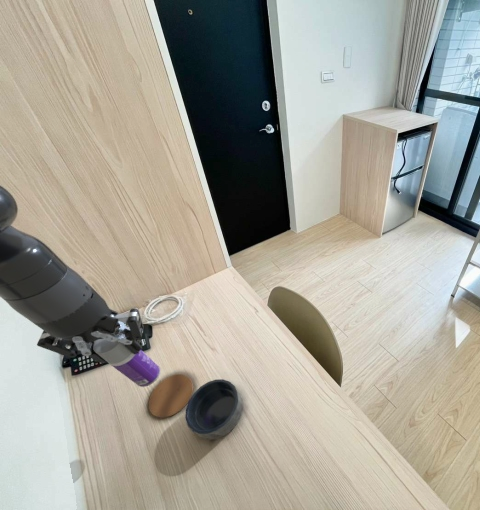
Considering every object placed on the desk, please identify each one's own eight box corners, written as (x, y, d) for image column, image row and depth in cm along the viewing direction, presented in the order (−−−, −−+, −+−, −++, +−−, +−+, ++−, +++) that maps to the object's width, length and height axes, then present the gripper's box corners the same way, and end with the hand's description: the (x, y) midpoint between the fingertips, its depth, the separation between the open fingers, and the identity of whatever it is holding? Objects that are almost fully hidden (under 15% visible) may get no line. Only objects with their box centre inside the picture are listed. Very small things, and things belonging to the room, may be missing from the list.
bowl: (193, 448, 59) (184, 442, 56) (194, 397, 67) (186, 388, 63) (245, 428, 62) (240, 421, 58) (241, 381, 70) (235, 372, 66)
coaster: (146, 424, 63) (145, 424, 62) (152, 382, 69) (151, 382, 69) (192, 408, 65) (192, 408, 65) (193, 369, 72) (193, 368, 72)
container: (165, 372, 59) (128, 337, 48) (144, 391, 56) (101, 359, 45) (152, 361, 60) (114, 325, 50) (131, 379, 57) (86, 345, 47)
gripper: (-19, 336, 35) (71, 386, 47) (109, 306, 38) (162, 359, 50) (9, 292, 40) (84, 347, 52) (120, 269, 43) (166, 326, 55)
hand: (122, 353), depth 51 cm, fingers closed on container, 4 cm apart
